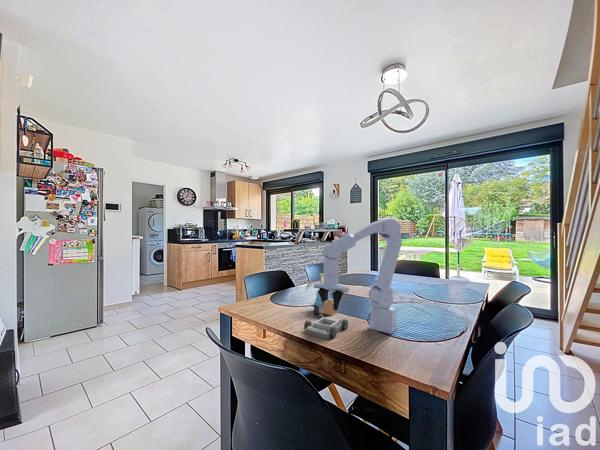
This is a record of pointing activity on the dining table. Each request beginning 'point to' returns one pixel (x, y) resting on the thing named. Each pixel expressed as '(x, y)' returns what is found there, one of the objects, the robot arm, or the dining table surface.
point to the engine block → (329, 307)
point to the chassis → (325, 326)
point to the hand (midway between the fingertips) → (330, 308)
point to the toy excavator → (319, 298)
